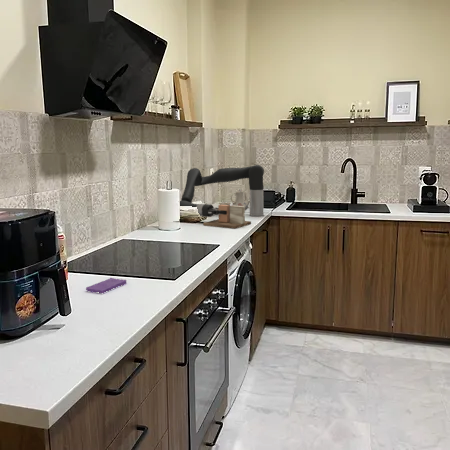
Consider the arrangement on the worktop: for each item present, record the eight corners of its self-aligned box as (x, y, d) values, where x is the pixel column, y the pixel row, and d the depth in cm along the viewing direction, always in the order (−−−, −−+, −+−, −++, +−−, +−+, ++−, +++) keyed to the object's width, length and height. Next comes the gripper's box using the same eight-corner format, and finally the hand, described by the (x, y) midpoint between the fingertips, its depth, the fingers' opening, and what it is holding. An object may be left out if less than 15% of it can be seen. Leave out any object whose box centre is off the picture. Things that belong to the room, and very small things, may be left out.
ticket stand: (220, 220, 287) (220, 202, 285) (251, 223, 275) (251, 204, 273) (203, 225, 272) (203, 206, 270) (234, 228, 260) (234, 208, 258)
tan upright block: (221, 220, 278) (221, 204, 276) (230, 221, 274) (230, 205, 273) (218, 221, 275) (218, 205, 273) (227, 222, 271) (226, 205, 270)
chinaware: (244, 208, 351) (243, 186, 349) (259, 208, 337) (258, 186, 336) (215, 212, 333) (213, 189, 332) (230, 212, 320) (228, 188, 319)
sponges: (126, 285, 161) (126, 279, 161) (102, 295, 150) (101, 290, 150) (111, 282, 164) (110, 277, 164) (85, 292, 153) (85, 287, 153)
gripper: (211, 214, 288) (234, 216, 278) (197, 218, 276) (221, 220, 267) (211, 202, 286) (234, 204, 277) (197, 205, 275) (221, 207, 265)
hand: (228, 212), depth 272 cm, fingers closed on tan upright block, 3 cm apart
